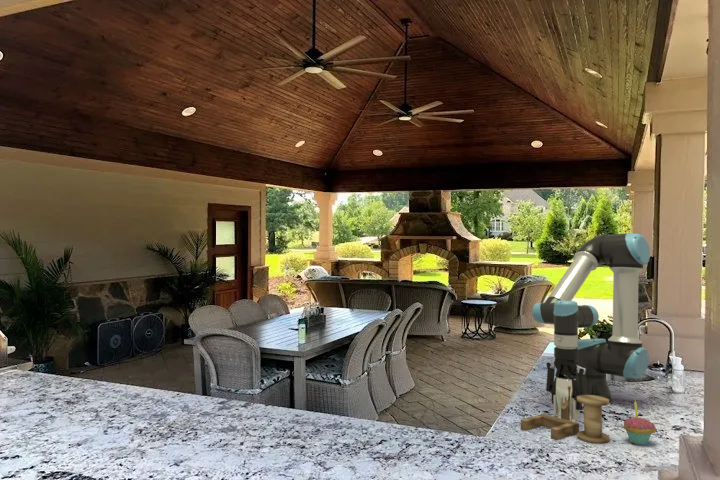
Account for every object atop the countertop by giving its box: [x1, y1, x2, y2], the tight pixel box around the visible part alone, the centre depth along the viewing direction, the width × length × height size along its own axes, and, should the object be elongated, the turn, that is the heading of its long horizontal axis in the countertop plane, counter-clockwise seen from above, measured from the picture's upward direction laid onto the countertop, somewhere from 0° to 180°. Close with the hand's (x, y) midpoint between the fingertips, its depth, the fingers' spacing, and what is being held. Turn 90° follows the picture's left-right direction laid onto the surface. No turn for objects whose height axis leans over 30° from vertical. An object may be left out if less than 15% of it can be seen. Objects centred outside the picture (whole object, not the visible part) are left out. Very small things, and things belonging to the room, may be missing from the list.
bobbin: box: [576, 395, 611, 445], centre depth 163 cm, size 9×9×12 cm
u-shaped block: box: [520, 413, 580, 441], centre depth 169 cm, size 12×13×3 cm
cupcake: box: [623, 400, 656, 446], centre depth 160 cm, size 9×8×12 cm
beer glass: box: [555, 375, 578, 423], centre depth 179 cm, size 7×7×15 cm
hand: (566, 416), depth 179 cm, fingers closed on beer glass, 6 cm apart
